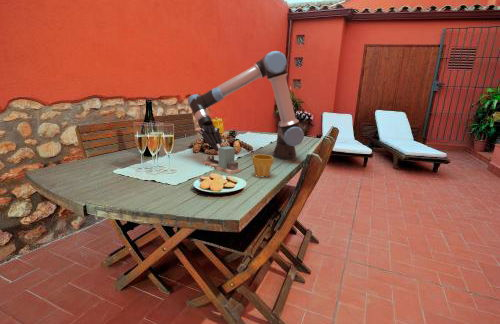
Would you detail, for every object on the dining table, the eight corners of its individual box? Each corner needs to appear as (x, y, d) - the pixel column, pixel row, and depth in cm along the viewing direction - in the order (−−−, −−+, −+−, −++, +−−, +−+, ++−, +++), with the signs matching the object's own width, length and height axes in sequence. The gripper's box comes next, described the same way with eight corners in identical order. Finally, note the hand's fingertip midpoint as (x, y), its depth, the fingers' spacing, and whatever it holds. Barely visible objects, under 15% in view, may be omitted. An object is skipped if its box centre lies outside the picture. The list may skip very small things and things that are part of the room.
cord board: (203, 164, 156) (203, 155, 154) (214, 162, 161) (214, 153, 160) (229, 174, 141) (230, 164, 140) (241, 171, 147) (241, 162, 145)
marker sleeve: (218, 165, 148) (218, 147, 145) (227, 164, 152) (228, 146, 150) (224, 168, 144) (225, 149, 142) (234, 166, 149) (235, 148, 147)
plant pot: (247, 175, 140) (248, 156, 138) (257, 171, 149) (258, 153, 147) (266, 180, 136) (268, 160, 133) (275, 175, 145) (276, 156, 142)
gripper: (210, 123, 163) (227, 157, 156) (191, 124, 154) (208, 160, 147) (216, 115, 158) (234, 150, 152) (197, 115, 149) (215, 153, 142)
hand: (221, 155), depth 149 cm, fingers closed
